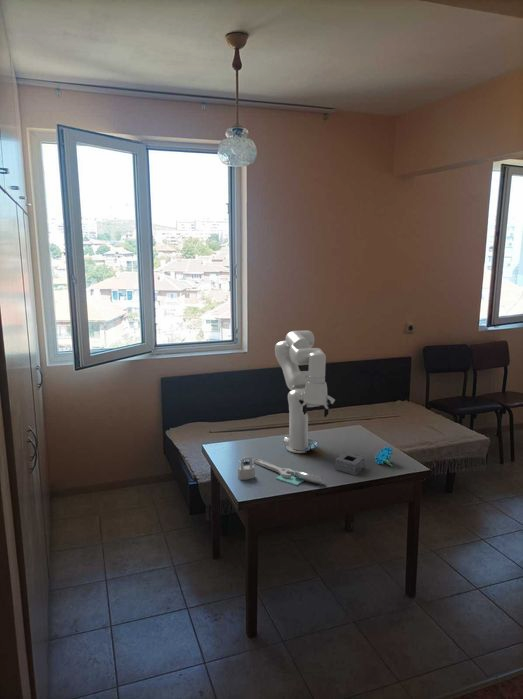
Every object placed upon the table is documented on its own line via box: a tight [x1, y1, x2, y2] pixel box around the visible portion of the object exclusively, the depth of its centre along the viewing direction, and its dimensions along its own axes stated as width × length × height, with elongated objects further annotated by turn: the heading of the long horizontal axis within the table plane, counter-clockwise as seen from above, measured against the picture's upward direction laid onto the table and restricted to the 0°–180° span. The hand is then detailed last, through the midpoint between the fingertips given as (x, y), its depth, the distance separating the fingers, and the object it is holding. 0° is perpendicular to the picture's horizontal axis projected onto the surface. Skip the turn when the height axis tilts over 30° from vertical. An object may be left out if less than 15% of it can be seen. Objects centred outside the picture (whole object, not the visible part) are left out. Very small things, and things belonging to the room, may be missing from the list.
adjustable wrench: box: [253, 458, 295, 478], centre depth 230 cm, size 25×6×2 cm, turn 38°
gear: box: [374, 446, 393, 467], centre depth 236 cm, size 11×6×10 cm
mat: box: [275, 470, 305, 487], centre depth 221 cm, size 11×11×1 cm
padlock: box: [237, 456, 256, 481], centre depth 220 cm, size 7×4×10 cm, turn 113°
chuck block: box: [334, 452, 366, 476], centre depth 230 cm, size 10×10×5 cm
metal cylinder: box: [294, 469, 324, 486], centre depth 217 cm, size 3×3×12 cm
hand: (315, 414), depth 227 cm, fingers open, 9 cm apart
